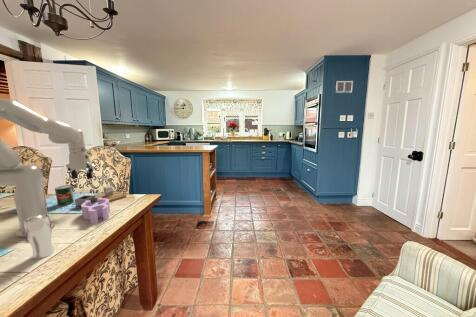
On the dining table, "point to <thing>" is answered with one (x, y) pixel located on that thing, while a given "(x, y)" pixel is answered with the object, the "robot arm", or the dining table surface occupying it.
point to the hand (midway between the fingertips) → (82, 178)
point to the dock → (111, 198)
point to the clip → (96, 210)
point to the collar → (82, 199)
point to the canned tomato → (64, 195)
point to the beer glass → (39, 235)
